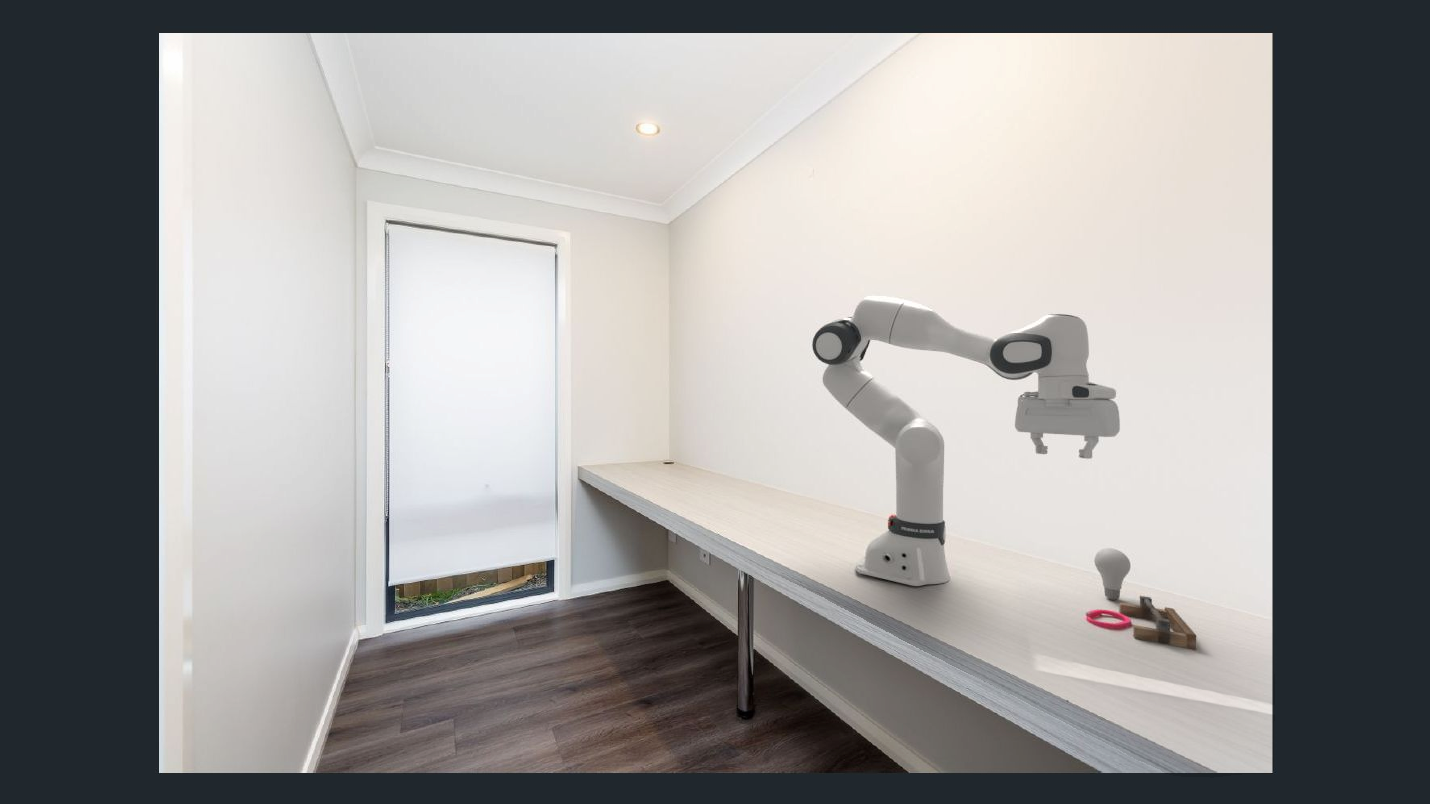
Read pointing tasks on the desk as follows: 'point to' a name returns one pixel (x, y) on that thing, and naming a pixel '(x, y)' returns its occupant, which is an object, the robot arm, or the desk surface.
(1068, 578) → the desk surface
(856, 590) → the desk surface
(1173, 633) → the wooden bar clamp
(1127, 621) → the fitness band
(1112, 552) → the lightbulb
